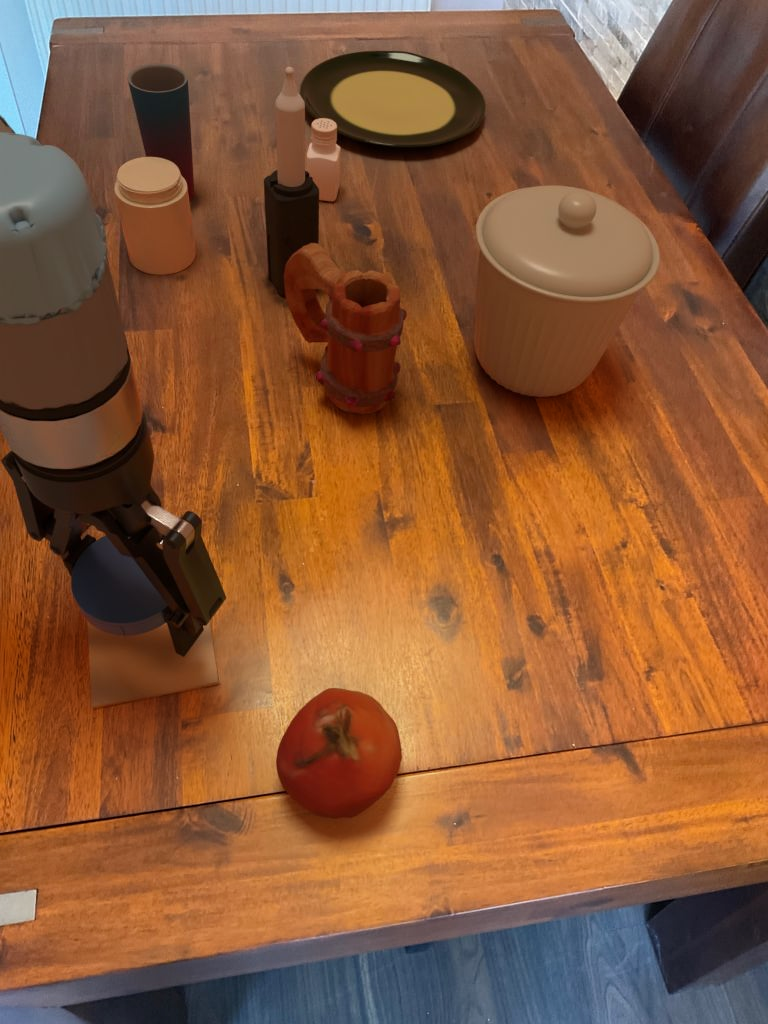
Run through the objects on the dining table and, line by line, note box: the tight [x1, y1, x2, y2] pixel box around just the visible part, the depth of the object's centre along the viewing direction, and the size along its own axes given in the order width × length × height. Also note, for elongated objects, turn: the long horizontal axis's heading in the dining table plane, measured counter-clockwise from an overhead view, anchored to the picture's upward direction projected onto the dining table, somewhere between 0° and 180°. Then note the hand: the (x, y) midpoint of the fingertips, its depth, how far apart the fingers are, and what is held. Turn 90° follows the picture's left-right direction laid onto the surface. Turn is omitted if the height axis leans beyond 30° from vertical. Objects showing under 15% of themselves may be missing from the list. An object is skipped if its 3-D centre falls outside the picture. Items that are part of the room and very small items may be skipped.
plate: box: [299, 50, 487, 148], centre depth 121 cm, size 28×28×2 cm
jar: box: [113, 156, 197, 276], centre depth 93 cm, size 8×8×11 cm
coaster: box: [86, 620, 220, 710], centre depth 67 cm, size 10×10×1 cm
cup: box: [127, 62, 195, 202], centre depth 99 cm, size 7×7×15 cm
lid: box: [70, 534, 168, 636], centre depth 59 cm, size 8×8×2 cm
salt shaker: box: [306, 118, 342, 202], centre depth 104 cm, size 4×4×10 cm
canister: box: [473, 184, 661, 398], centre depth 83 cm, size 18×18×21 cm
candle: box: [263, 66, 320, 298], centre depth 86 cm, size 5×5×25 cm
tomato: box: [275, 687, 403, 820], centre depth 59 cm, size 9×9×8 cm
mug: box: [284, 243, 408, 414], centre depth 81 cm, size 15×8×15 cm, turn 48°
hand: (143, 616), depth 64 cm, fingers closed on lid, 8 cm apart
